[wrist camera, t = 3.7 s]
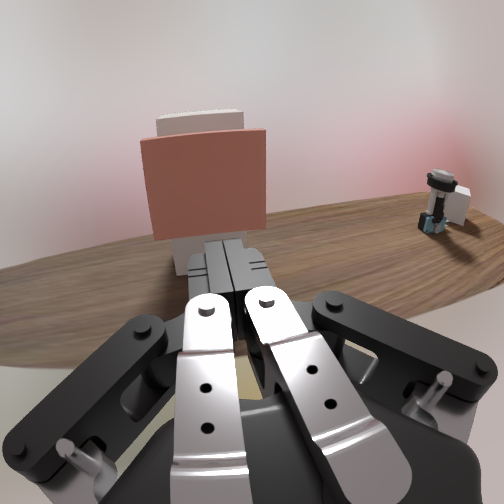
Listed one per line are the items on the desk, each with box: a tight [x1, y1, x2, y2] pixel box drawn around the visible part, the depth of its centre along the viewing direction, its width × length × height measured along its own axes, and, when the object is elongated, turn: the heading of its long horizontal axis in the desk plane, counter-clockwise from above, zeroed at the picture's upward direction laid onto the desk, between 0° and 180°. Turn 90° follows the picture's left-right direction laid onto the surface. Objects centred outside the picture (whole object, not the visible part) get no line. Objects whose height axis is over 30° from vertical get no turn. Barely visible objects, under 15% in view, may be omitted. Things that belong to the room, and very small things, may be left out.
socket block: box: [156, 109, 247, 276], centre depth 32 cm, size 7×8×17 cm
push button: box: [418, 169, 458, 233], centre depth 39 cm, size 7×5×10 cm
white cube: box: [444, 185, 471, 226], centre depth 46 cm, size 6×6×6 cm
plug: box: [140, 129, 266, 241], centre depth 25 cm, size 8×9×8 cm
